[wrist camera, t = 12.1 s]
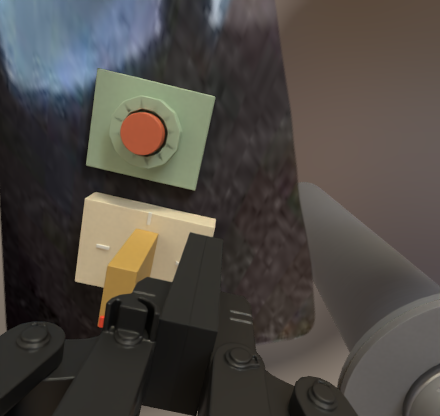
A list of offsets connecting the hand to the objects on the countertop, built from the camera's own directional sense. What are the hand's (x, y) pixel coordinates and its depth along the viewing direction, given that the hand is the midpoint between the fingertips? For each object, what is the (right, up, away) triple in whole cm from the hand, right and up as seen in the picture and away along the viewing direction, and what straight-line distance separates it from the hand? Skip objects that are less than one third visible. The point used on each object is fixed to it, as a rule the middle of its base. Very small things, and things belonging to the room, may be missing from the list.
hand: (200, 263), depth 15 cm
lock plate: (-8, -2, +25) cm, 26 cm away
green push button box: (-7, +11, +21) cm, 25 cm away
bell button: (-7, +10, +19) cm, 22 cm away
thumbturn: (-8, -3, +22) cm, 23 cm away
